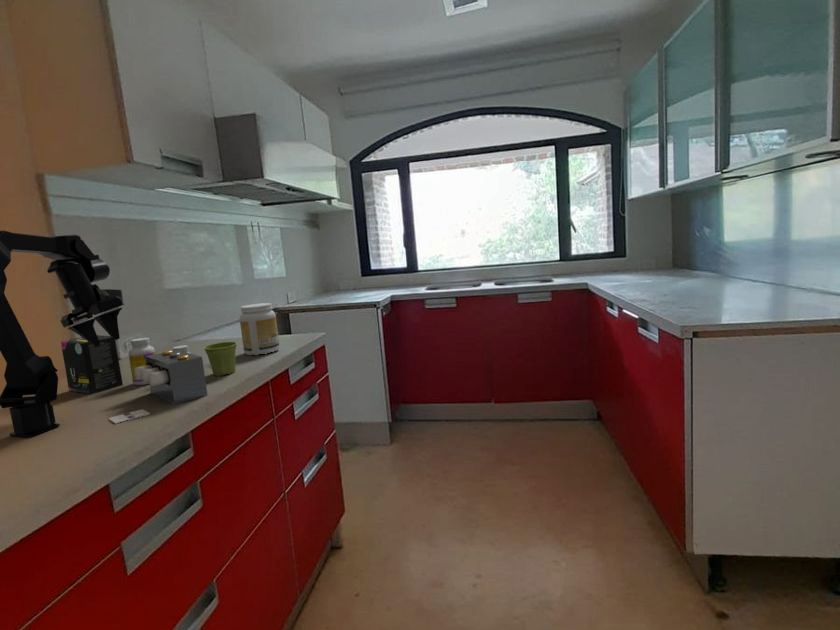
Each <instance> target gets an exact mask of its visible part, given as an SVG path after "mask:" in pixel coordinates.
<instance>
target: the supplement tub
mask: <svg viewBox="0 0 840 630" xmlns="http://www.w3.org/2000/svg"><path fill="white" fill-rule="evenodd" d="M272 309H273V305H272V302H262V303H252V304H245V305H242V306H240V312H241V314H240V316H239V323H240V325H239V326H240V330H241V340H242V346H243V352H244V354H245V355H247V356H251V355H255V356H258V355H257V354H265V353H269V352H273V351H276V350H277V351H279V349H280V346H281V345H280V338H279V332H278V323H277V315H276V312H275V311H273V310H272ZM277 351H276V352H277ZM273 353H274V352H273ZM265 355H266V354H265Z"/></svg>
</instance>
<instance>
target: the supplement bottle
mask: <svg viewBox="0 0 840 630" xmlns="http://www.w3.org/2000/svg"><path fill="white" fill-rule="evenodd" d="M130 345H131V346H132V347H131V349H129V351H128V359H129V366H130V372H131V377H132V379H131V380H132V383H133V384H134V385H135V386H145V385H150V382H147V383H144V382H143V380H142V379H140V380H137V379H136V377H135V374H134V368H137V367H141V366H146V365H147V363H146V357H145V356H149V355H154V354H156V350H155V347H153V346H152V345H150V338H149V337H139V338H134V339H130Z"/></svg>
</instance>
